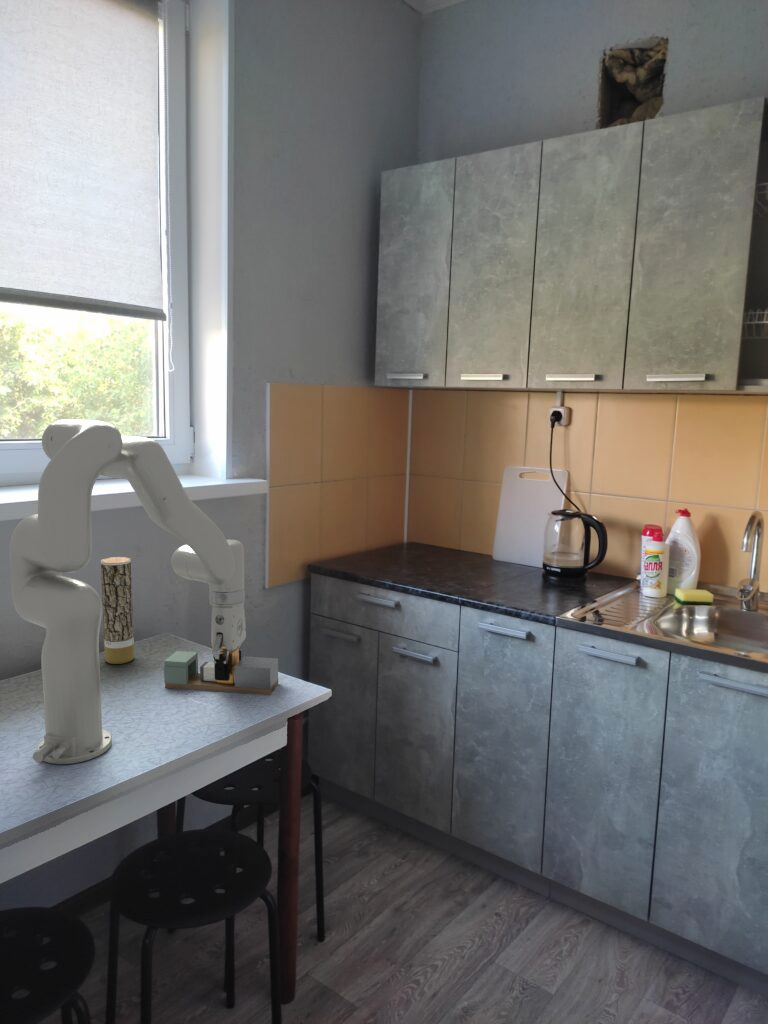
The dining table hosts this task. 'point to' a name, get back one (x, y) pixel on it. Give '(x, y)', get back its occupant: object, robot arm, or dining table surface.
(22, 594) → the robot arm
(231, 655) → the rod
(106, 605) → the brown bark cylinder
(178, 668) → the socket
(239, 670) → the sleeve
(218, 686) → the board
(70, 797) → the dining table surface
